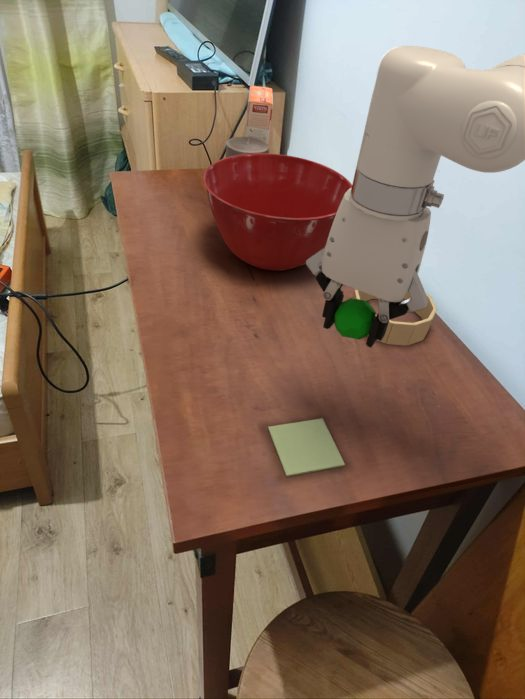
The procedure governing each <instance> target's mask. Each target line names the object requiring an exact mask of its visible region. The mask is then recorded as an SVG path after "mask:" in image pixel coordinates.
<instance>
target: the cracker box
mask: <svg viewBox="0 0 525 699" xmlns="http://www.w3.org/2000/svg"><path fill="white" fill-rule="evenodd" d="M246 106H247V107H246V116H245V117H246V118H245V128H244V137H251V138H256V139H260V140H262V141H264V142H266V143H267V144H268V145H269V140H270V132H271V123H272V116H273V107H274V98H273V88H271V87H268V86H256V85H249V91H248V98H247V105H246Z"/></svg>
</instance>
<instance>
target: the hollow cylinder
mask: <svg viewBox="0 0 525 699" xmlns="http://www.w3.org/2000/svg"><path fill="white" fill-rule="evenodd" d="M425 293H426V295H427V298H428V300H429V302H428V304H427V306H426V307H425V309H423V310H420V311H415V312H414V313H415V314H416V315H417V316H418V317H420V319H421V320H417V321H415V322H407V321H406V322H405V321H395V320H392V319H391V320H389V323H388V326H387V329H386V332H385V335H384V337H383V339H382V340H381V341H380V340H376V342H379V343H382V344H385V345H391V346H404V347H405V346H407V347H408V346H411V345H415V344H416V343H419V342H422V341H424V339H425V338H426V336H427V335H428V332H429V330H430V328H431V326H432V324H433V320H434V318H435V315H436V313H437V310H438V309H437V306H436V304H435V302H434V299H433V297H432V296H431V295H430V294H428V293H427V292H426V291H425ZM410 298H411V297H410V294H409V292H408V291H407V293H406V294H405V296H404V298H403V299H410ZM352 299H359V300H364V301H367V302H368V301H372V300H378V298H377V297H375V296H372V295H369V294H367V293H364V292H362V291H359V290H356V289H354V292H353V295H352ZM376 316H377V314H376ZM368 335H369V334H368ZM366 338H368V336H366Z"/></svg>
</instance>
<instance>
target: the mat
mask: <svg viewBox="0 0 525 699" xmlns="http://www.w3.org/2000/svg"><path fill="white" fill-rule="evenodd" d="M267 431H268V432H269V436H270V438H271V440H272V443H273V446H274V449H275V451H276V455H277V457H278V459H279V461H280V464H281V467H282V470H283V472H284V475H285V477H286V478H289V477H294V476H299V475H305V474H310V473H314V472H320V471H325V470H326V471H327V470H330V469H331V470H332V469H337V468H342V467H345V466H346V463H345V462H344V460H343V457H342V455H341V453H340V451H339V449H338V447H337V445H336V442H335V441H334V439H333V437H332V435H331V433H330V431H329V428H328V426H327V425H326V422H325V420H324V418H323V417H321V418H315V419H309V420H302V421H296V422H289V423H283V424H277V425H271V426H267Z"/></svg>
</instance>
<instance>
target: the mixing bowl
mask: <svg viewBox="0 0 525 699" xmlns="http://www.w3.org/2000/svg"><path fill="white" fill-rule="evenodd" d="M202 181H203V185H204V187H205V189H206V195H207V199H208V202H209V206H210V210H211V213H212V216H213V219H214V222H215V224H216V226H217V229H218V231H219V233H220V235H221V237H222V239H223V241H224V243H225V245H226V246H227V248H228V249H229V250H230V252H232V253H233V254H234V255H235V256H236V257H237V258H239V259H240V260H241V261H243V262H244V263H246V264H248V265H250V266H252V267H255V268H257V269H261V270H264V271H273V272H282V271H288V270H291V269H296V268H299V267H301V266H303V265H306V260H307V259H309V258H310V257H311V256H312V255H313V254H315V253H316V252H318V251H319V250H321V249H322V248H324V247H325V246H326V243H327V240H328V236H329V233H330V230H331V227H332V224H333V221H334V218H335V216H336V213H337V210H338V208H339V206H340V203H341V201H342V199H343V197H344V194H345V193H346V192H347V191H348V190H349V189H350V188H352V184H353V183H351V182H350V180H348V178H347V177H346V176H344V175H343V174H341V173H339V172H338V171H336V170H335V169H333V168H331V167H329V166H327V165H325V164H322V163H319V162H317V161H313V160H310V159H307V158H302V157H298V156H293V155H287V154H280V153H270V152H269V153H252V154H242V155H235V156H231V157H227V158H226V157H224V158H221V159H218V160H216V161H215V162H213V163H211V164H210V165H209V166H207V168H206V169H205V171H204V173H203V175H202Z"/></svg>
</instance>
